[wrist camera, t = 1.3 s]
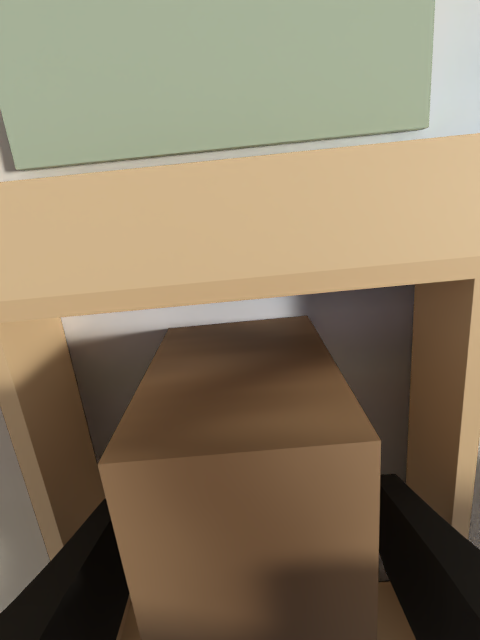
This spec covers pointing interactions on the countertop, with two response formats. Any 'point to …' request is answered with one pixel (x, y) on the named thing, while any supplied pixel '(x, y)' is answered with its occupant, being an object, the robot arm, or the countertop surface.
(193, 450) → the block
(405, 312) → the countertop surface
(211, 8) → the mat
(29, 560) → the countertop surface
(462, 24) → the countertop surface
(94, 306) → the light wood rectangular frame
